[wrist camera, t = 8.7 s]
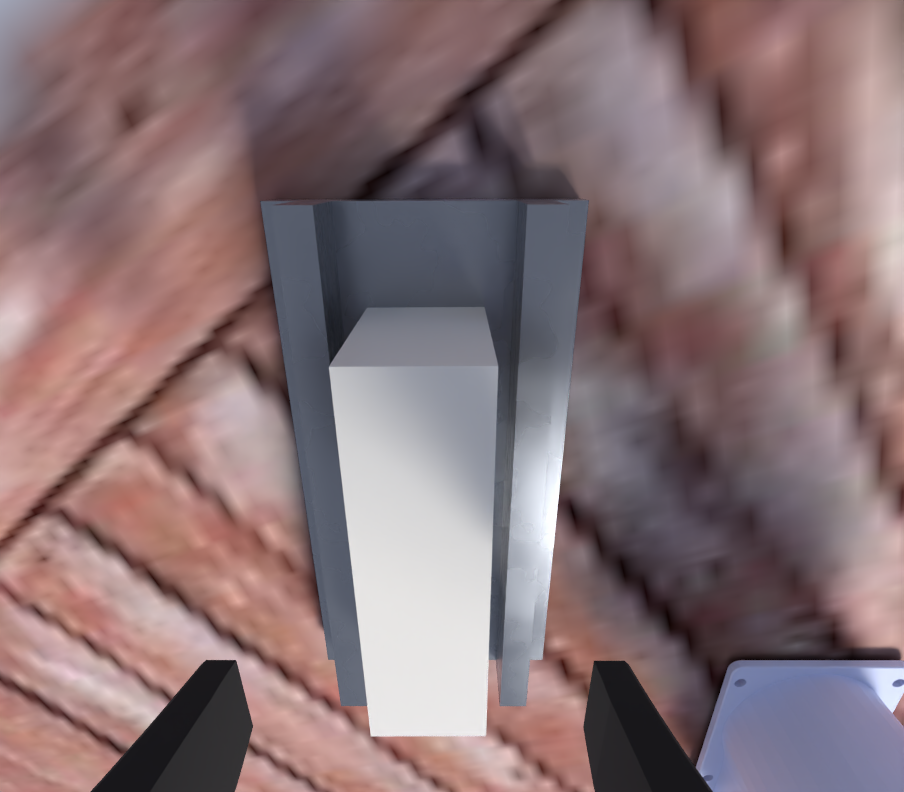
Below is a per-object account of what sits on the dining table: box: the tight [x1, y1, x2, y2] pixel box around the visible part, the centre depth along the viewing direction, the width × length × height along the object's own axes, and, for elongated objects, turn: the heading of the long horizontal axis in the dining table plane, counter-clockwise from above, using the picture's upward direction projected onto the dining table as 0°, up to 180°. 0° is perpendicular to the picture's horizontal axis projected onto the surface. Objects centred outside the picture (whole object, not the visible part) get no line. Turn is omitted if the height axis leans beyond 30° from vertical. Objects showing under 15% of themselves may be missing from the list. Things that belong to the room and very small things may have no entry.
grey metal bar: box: [329, 307, 498, 736], centre depth 15 cm, size 12×4×5 cm, turn 0°
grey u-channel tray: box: [260, 199, 589, 706], centre depth 17 cm, size 18×9×3 cm, turn 0°
